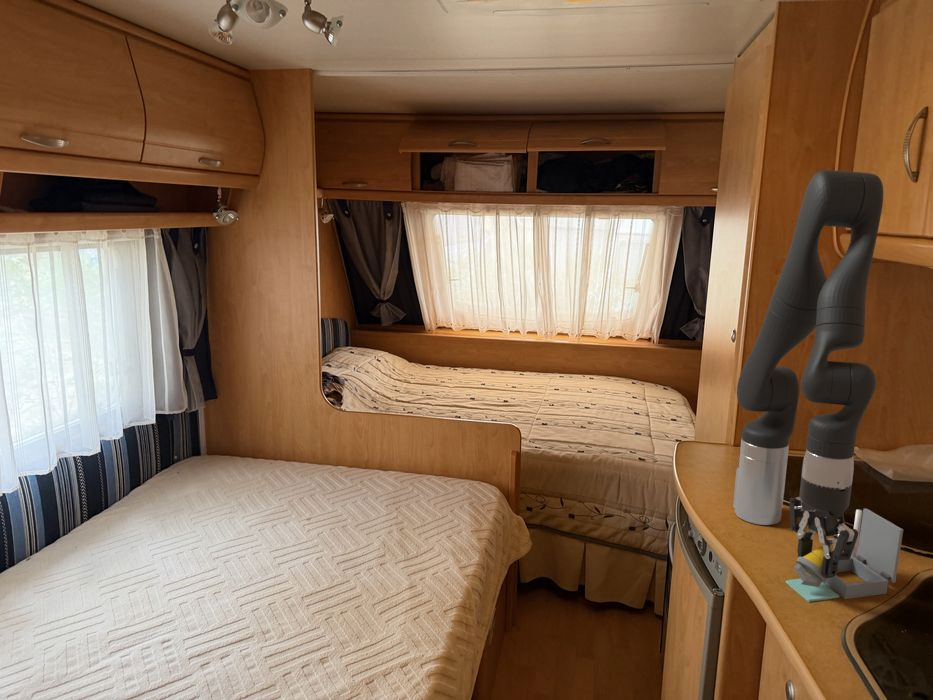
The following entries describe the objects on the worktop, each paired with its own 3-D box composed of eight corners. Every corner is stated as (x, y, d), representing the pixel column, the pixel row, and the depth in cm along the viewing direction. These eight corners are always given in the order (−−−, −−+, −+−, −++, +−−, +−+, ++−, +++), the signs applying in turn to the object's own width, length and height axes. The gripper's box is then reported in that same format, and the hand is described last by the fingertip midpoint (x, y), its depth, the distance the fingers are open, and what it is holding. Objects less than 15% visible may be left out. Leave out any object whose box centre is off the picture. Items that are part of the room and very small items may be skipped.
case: (804, 567, 123) (811, 508, 121) (852, 561, 125) (860, 503, 123) (845, 599, 114) (853, 535, 111) (896, 592, 115) (906, 529, 113)
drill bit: (784, 575, 118) (816, 531, 120) (812, 596, 116) (845, 551, 117) (789, 571, 114) (822, 526, 115) (818, 593, 111) (852, 547, 113)
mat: (785, 582, 119) (785, 580, 119) (815, 578, 120) (815, 576, 120) (808, 601, 113) (808, 599, 113) (839, 597, 114) (839, 595, 114)
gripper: (779, 462, 118) (770, 549, 121) (838, 497, 104) (826, 593, 108) (816, 459, 119) (806, 545, 123) (879, 492, 105) (866, 587, 109)
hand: (816, 567), depth 115 cm, fingers closed on drill bit, 5 cm apart
